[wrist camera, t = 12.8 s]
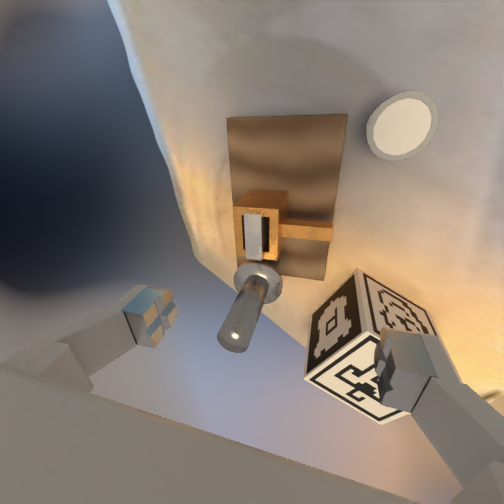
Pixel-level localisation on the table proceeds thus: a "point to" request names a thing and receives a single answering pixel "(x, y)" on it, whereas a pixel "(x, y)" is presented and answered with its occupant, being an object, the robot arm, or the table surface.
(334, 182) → the base board
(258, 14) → the table surface
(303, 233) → the ringlock node
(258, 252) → the wedge pin
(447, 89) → the table surface
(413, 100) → the white short cylinder
